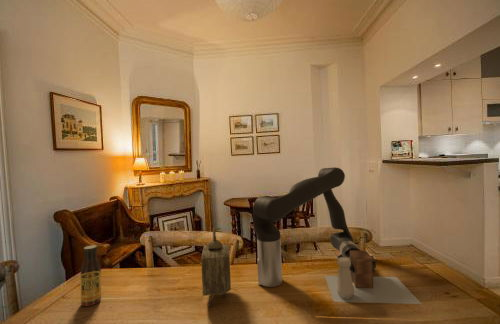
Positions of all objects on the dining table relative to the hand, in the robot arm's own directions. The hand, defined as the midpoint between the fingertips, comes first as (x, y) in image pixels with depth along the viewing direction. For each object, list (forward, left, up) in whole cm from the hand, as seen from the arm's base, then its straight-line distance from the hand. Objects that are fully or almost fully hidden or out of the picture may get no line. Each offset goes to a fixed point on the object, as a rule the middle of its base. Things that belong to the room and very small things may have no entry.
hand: (363, 270), depth 92 cm
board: (+1, -1, -7) cm, 7 cm away
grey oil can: (-52, -9, -7) cm, 53 cm away
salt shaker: (-8, -7, -6) cm, 12 cm away
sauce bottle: (-97, -14, -7) cm, 98 cm away
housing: (0, +2, -6) cm, 7 cm away
